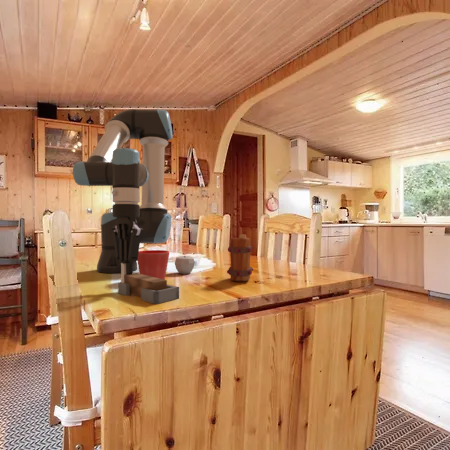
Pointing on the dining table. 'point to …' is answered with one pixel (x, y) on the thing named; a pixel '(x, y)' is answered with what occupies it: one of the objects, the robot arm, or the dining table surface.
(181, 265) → the apple
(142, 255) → the flower pot
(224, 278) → the dining table surface
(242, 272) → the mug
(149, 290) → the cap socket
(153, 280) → the brown rectangular block
